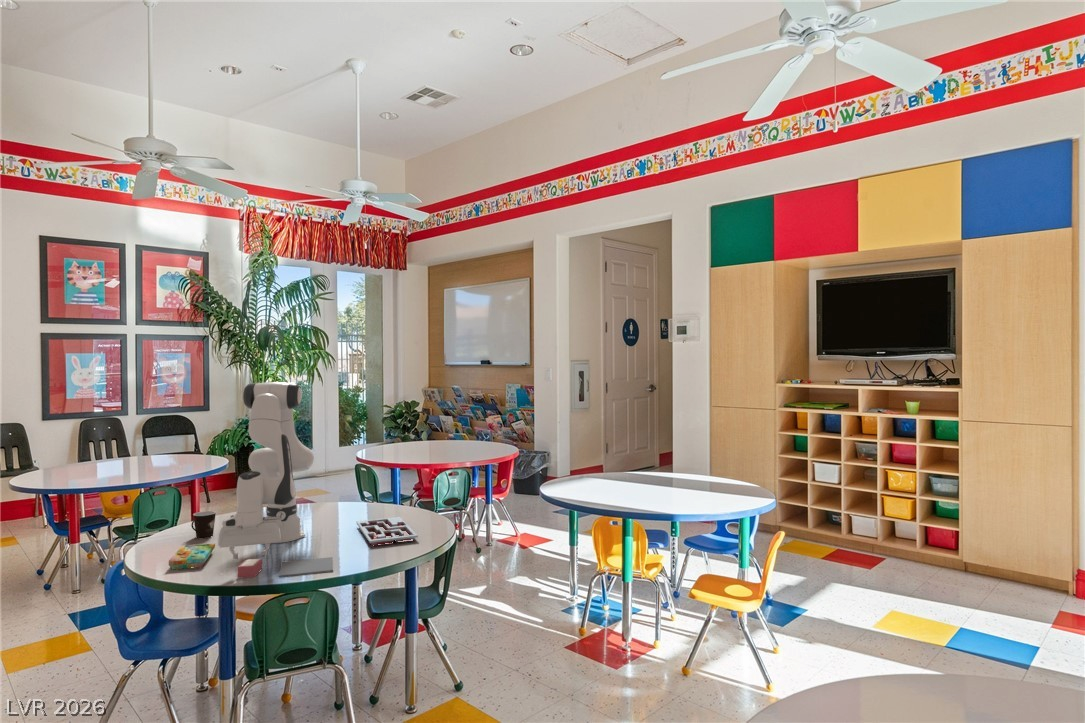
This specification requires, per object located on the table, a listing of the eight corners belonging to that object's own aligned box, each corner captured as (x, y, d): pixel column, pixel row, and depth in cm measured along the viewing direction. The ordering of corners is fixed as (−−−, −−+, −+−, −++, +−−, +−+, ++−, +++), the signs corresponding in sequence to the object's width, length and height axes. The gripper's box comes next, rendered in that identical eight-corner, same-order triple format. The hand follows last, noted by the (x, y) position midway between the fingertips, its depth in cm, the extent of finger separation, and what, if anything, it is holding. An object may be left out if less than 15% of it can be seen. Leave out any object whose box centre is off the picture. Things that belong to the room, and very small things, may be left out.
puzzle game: (168, 559, 233) (181, 543, 252) (168, 572, 233) (182, 555, 252) (204, 556, 237) (215, 541, 256) (204, 568, 237) (215, 553, 256)
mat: (281, 563, 241) (281, 561, 241) (332, 558, 247) (332, 557, 247) (279, 577, 226) (279, 575, 226) (333, 571, 232) (333, 569, 232)
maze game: (417, 543, 269) (417, 535, 269) (369, 548, 261) (369, 541, 261) (399, 523, 301) (399, 516, 301) (356, 528, 293) (356, 521, 293)
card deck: (246, 570, 235) (246, 558, 235) (262, 569, 235) (262, 558, 235) (237, 578, 226) (237, 566, 226) (254, 577, 227) (254, 565, 227)
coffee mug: (209, 532, 285) (209, 510, 285) (219, 535, 280) (219, 512, 280) (182, 538, 275) (182, 515, 275) (192, 542, 270) (192, 518, 270)
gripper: (281, 514, 237) (282, 552, 236) (220, 518, 230) (220, 557, 230) (280, 517, 231) (280, 556, 230) (217, 522, 224) (217, 562, 224)
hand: (250, 557), depth 230 cm, fingers open, 8 cm apart
